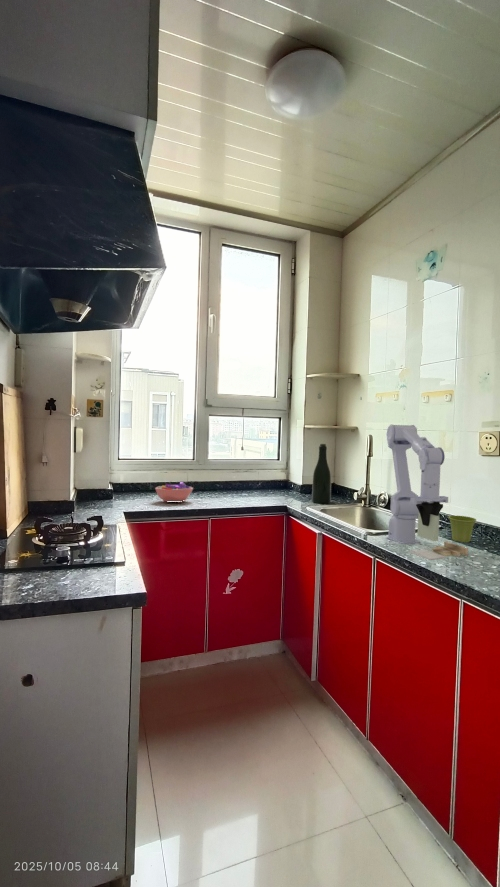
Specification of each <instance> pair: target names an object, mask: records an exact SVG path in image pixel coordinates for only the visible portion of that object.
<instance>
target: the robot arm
mask: <svg viewBox="0 0 500 887" xmlns="http://www.w3.org/2000/svg"><path fill="white" fill-rule="evenodd" d="M386 441H387V446H388V449H390V450H391V452H392V460H393V466H394V467H393V468H394V475H395V476H394V477H395V483H396V490H397V491H396V492H395V493H394V494H393V495H392V496H391V497H390V512H391V514H392V516H391V517H390V518H389V520H388V534H387V535H388V536H386V539H387V540H391V541H394V542H397V543H400V544H402V545H409V544H411V545H412V544H418V543H421V541H420V540H418V539H416V526H417V525H416V524H417V522H416V519H417V520H418V513H420V516H421V519H422V524H423V525H425V526H429V522H430V514H432V515H436V516H439V514H440V512H441V511H442V509H443V508H444V504H443V503H445V504H449V496H445V495H440V485H441V484H440V483H441V466H442V465H443V464H444V462H445V458H446V457H445V451H444V450H443V448H442V447H439V446H438V447H435V445H433V444H432V443H431V442H430V441H429V440H428V439H427V437H425V436H422V437H421V436H420V434H418V428H417V427H416V425H414V424H411V425H409V424H408V425H405V424H389V426H388V427H387V429H386ZM409 449H412V451H414V453H416V455H417V456H418V462H419V470H421V472H420V473H421V474H420V475H421V476H420V496H419V495H417V493H415V492H414V491H413V490H412V487H411V479H410V472H409V465H408V458H407V450H409Z"/></svg>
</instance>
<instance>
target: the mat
mask: <svg viewBox="0 0 500 887" xmlns="http://www.w3.org/2000/svg"><path fill="white" fill-rule="evenodd" d="M431 551H432V550H427V549H425V548H424V549H423V548H422V549H415V550H408V553H410V554H412V555H415V556H419V557H420V558H423V559H426V560H428V561H432V560H433V561H434V560H440V559H446V558H447V556H443V555H440V554H437V553H434V552H431Z"/></svg>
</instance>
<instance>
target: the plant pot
mask: <svg viewBox="0 0 500 887" xmlns="http://www.w3.org/2000/svg"><path fill="white" fill-rule="evenodd" d="M448 519H449V522H450V528H451V537H452V538H451V539H452V540H453V541H455V542H460V543H470V542H471V540H472V539H471V538H472V534H473V530H474V525H475V524H476V522H477V518H475V517H470V516H466V515H449V516H448Z"/></svg>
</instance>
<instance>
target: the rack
mask: <svg viewBox="0 0 500 887" xmlns="http://www.w3.org/2000/svg"><path fill="white" fill-rule="evenodd" d="M443 542H444V543H443V544H444V545H443V546H442V545H439V544H437V545H436V547H440V548H443V549H446V550H449V551H451V554H452V556H455V557H460V556H461V555H463V556H468V555H469V548H468V547H465V546H461V545H458V544H455V543H453V542H450V541H449V542H448V541H443Z"/></svg>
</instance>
